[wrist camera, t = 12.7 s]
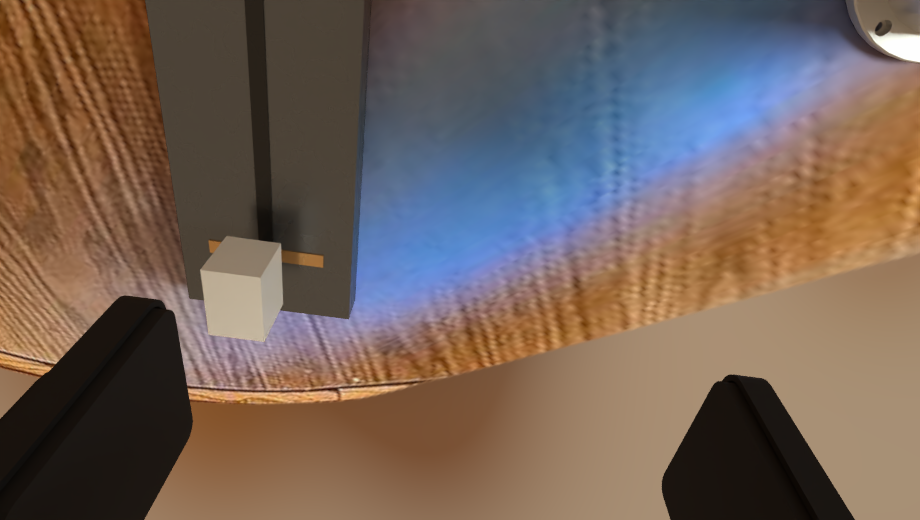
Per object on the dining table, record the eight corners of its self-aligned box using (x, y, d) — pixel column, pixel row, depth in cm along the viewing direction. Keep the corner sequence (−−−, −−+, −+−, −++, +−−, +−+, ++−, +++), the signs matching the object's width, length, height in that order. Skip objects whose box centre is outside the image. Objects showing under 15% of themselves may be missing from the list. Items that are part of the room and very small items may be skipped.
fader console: (146, -161, 28) (119, -168, 26) (377, -120, 29) (369, -123, 27) (203, 279, 43) (188, 299, 41) (355, 299, 44) (348, 320, 42)
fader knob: (235, 224, 37) (200, 269, 32) (288, 231, 37) (260, 277, 32) (240, 284, 39) (208, 334, 35) (289, 290, 40) (264, 341, 35)
